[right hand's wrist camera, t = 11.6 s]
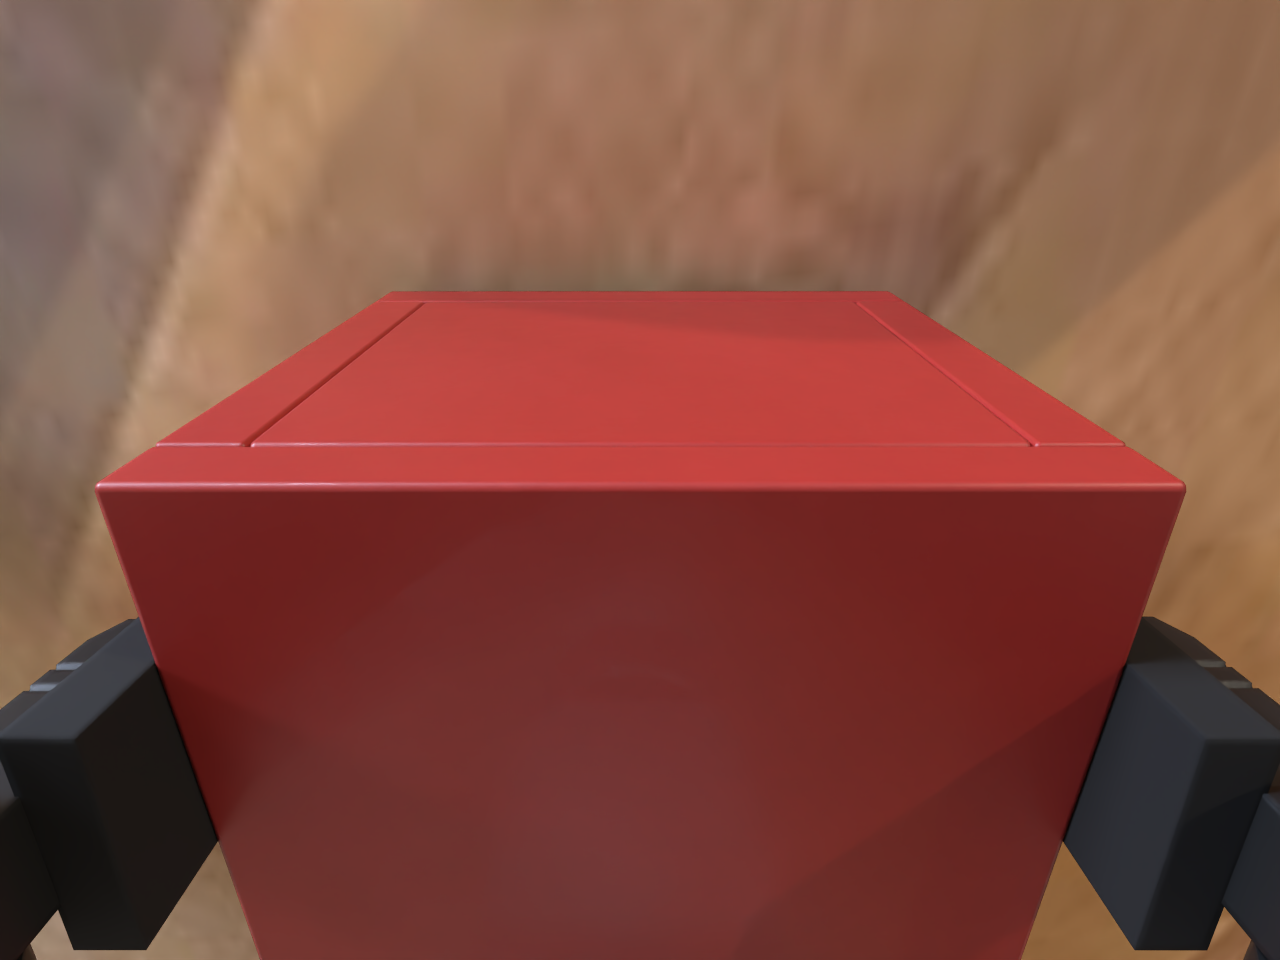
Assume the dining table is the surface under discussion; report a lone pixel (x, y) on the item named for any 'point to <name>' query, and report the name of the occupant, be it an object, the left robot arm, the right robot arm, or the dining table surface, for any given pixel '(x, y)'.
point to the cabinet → (640, 628)
